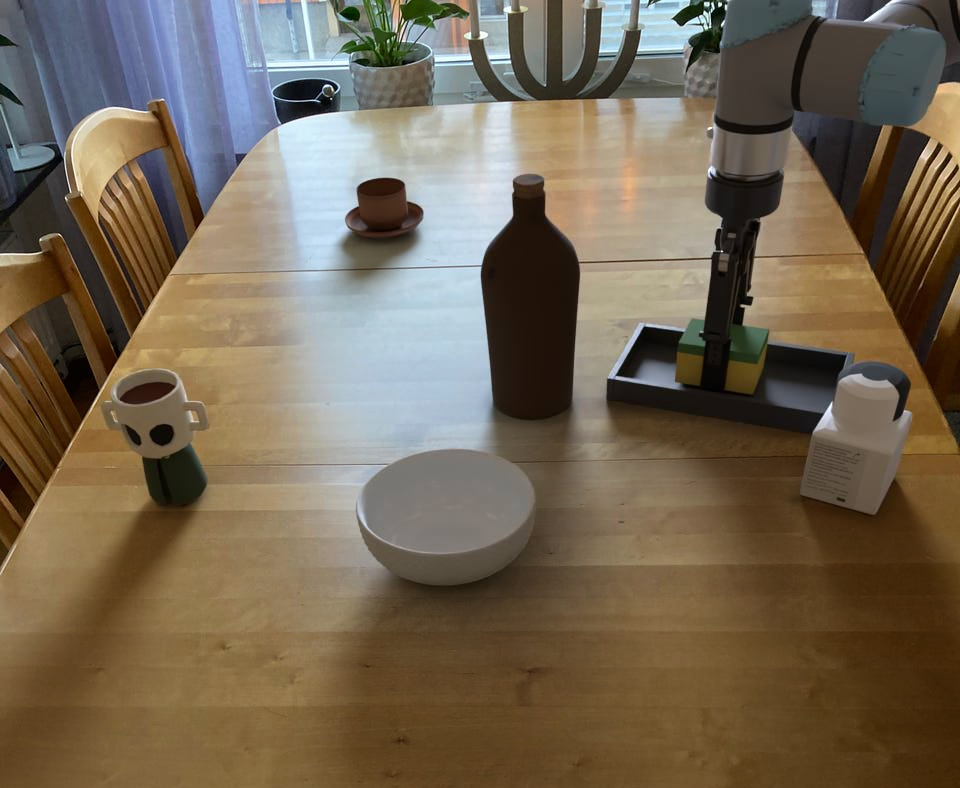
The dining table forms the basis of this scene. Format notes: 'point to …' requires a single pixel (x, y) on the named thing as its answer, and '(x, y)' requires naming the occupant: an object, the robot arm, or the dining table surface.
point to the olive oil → (530, 308)
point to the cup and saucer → (383, 209)
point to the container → (859, 438)
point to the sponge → (742, 358)
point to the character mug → (160, 431)
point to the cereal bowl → (446, 515)
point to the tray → (775, 401)
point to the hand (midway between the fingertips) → (719, 372)
